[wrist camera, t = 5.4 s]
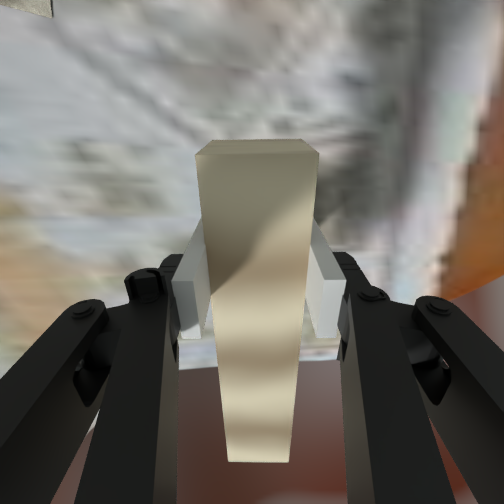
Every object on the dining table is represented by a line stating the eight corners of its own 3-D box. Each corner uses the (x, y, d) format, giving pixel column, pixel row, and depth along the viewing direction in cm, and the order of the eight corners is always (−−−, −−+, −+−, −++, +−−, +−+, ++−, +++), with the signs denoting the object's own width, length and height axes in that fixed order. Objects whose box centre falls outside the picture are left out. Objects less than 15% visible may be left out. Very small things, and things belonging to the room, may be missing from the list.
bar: (283, 403, 24) (288, 462, 20) (232, 403, 24) (228, 461, 20) (301, 138, 14) (319, 153, 10) (212, 140, 14) (195, 154, 10)
